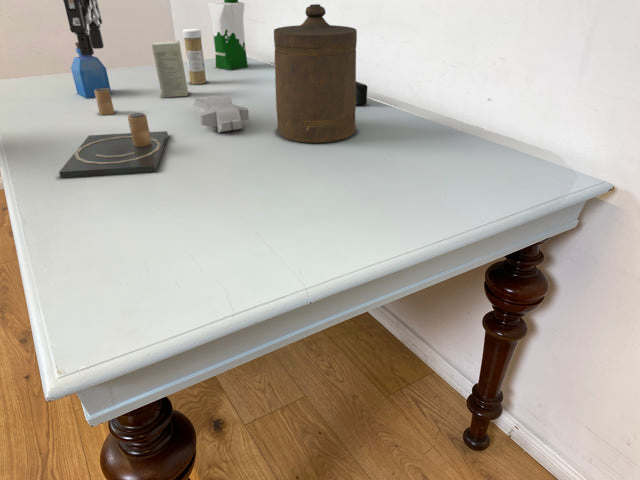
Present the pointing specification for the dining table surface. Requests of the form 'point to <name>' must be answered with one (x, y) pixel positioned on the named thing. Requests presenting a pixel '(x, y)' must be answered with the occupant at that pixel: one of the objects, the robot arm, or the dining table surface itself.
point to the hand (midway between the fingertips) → (93, 51)
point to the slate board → (114, 155)
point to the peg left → (104, 101)
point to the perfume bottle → (88, 74)
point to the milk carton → (228, 34)
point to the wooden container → (315, 79)
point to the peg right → (139, 129)
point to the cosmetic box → (170, 68)
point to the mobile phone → (361, 94)
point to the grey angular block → (221, 113)
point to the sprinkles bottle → (194, 55)
